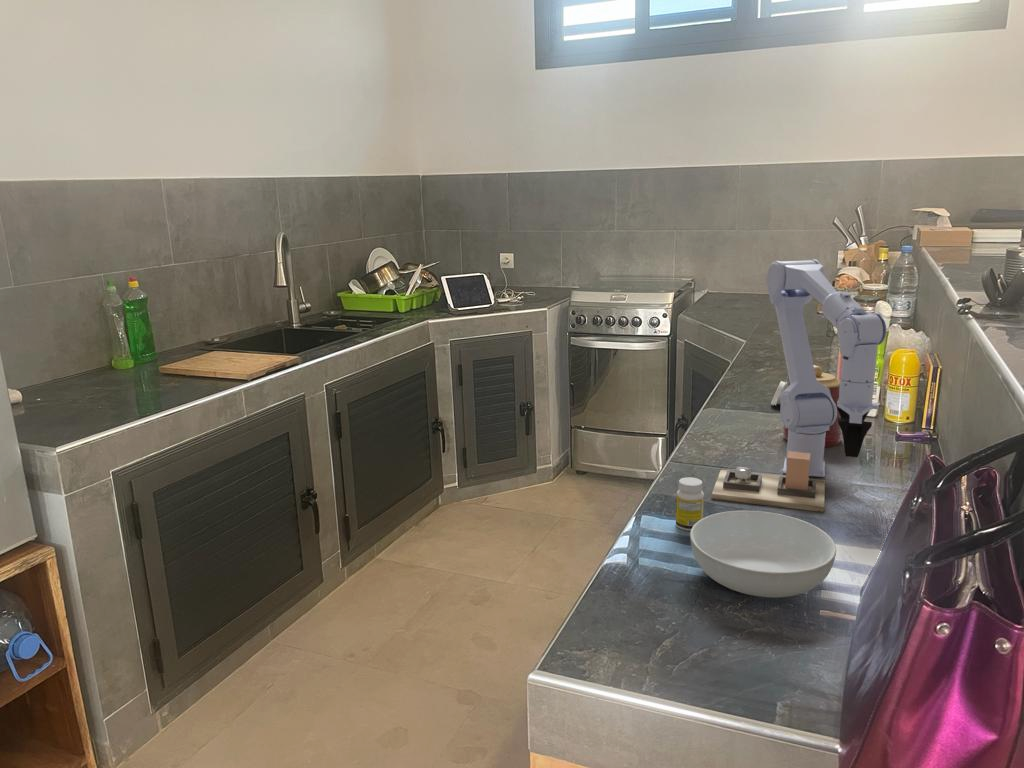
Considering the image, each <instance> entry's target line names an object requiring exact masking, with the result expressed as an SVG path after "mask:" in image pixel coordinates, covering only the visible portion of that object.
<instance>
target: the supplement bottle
mask: <svg viewBox="0 0 1024 768" xmlns="http://www.w3.org/2000/svg"><path fill="white" fill-rule="evenodd" d="M675 499H676V500H675V504H676V505H675V525H676V528H678V529H680V530H683V531H687V532H691V529H692V527H693V526H694V525H695V524H696V523H697V522H698V521H699V520H701V519H703V518H704V511H705V510H704V509H705V493H704V492H703V481H702V480H701V479H700V478H698V477H697V478H696V477H691V476H689V477H688V476H686V477H681V478H680V479H679V480H678V490H677V491H676V498H675Z"/></svg>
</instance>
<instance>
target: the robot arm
mask: <svg viewBox="0 0 1024 768" xmlns="http://www.w3.org/2000/svg"><path fill="white" fill-rule="evenodd" d="M824 266H825V265H823V264H821V262H820V261H819V260H818V259H813V258H812V259H810V260H808V259H806V260H783V261H780V260H774V261H772V262H771V264H770V266H769V267H768V269H767V274H766V278H765V281H766V286H767V292H768V296H769V301H770V304H771V305H773V306H774V308H775V313H776V317H777V319H776V320H777V322H778V329H779V332H780V338H781V343H782V349H783V352H784V353H783V354H784V357H785V358H784V359H785V363H786V364H785V365H786V368H787V373H788V375H789V380H790V386H789V387H788V388H787V389H786V390H785V389H784V390H783V392H782V394H781V396H780V398H779V401H780V407H779V408H780V410H779V414H780V420H781V422H782V424H783V425H785V427H786V428H788V441H787V445H786V457H785V458H784V463H783V469H782V473H783V474H786V468H787V456H788V451H792V452H802V453H811V454H810V467H809V477H817V478H825V476H826V475H825V473H826V472H825V470H826V461H825V460H824V457H825V447H824V446H825V434H826V431H829V426H831V425H833V424H834V422H835V420H836V417H837V409H838V411H839V414H840V416H841V418H838V423H839V426H840V428H841V431H842V434H841V435H842V439H843V440H842V441H843V451H844V455H845V457H847V458H848V457H849V458H858V457H859V455H860V453H861V450H862V447H863V443H864V440H865V437H866V436H867V433H868V432H869V430H870V429H871V428H872V426H873V422H872V421H865V420H866V418H867V416H868V414H869V413H870V411H872V410H878V409H879V408H880V404H879V402H873V396H874V387H875V377H876V368H877V367H876V366H877V359H878V358H877V357H878V346H879V345H881V344H883V342H884V341H885V339H886V336H887V330H888V329H887V323H886V320H885V319H884V317H883V316H882V315H881V314H880V313H879V312H873V313H872V312H870V311H866V310H865V309H864V307H863V306H862V305H860V304H859V303H858V302H857V301H856V300H855V299H854V298H853V297H852V294H851V293H849V291H837V290H836V288H834V286H833V285H832V284H831V283H830V281H829V280H828V279H827V277H826V276H825V267H824ZM813 298H814V299H815V300H816V301H818V302H819V303H820V305H822V306H821V312H822V314H823V316H824V317H825V318H826V320H828V321H829V322H830V323H831V324H832V325H833V326H834V327H835V328H836V333H837V338H838V342H839V354H840V355H841V357H842V358H841V369H840V378H839V380H840V390H839V400H838V401H837V406H838V407H836V404H835V402H834V401H833V399H832V397H831V394H830V390H829V388H827V387H826V386H824V385H823V384H821V383H820V382H818V381H817V380H816V375H815V370H814V365H815V364H814V360H813V357H812V352H811V346H810V343H809V342H810V341H809V336H808V332H807V327H806V323H805V322H806V321H805V317H804V311H803V308H804V306H805V305H806V304H808V303H810V302H811V301H812V300H813ZM788 375H787V376H788ZM796 398H797V399H796Z"/></svg>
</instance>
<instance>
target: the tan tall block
mask: <svg viewBox="0 0 1024 768" xmlns="http://www.w3.org/2000/svg"><path fill="white" fill-rule="evenodd" d="M810 454H811V453H802V452H792V451H788V456H787V455H786V457H787V468H786V473H785V476H786V482H785V488H790V489H799V490H808V481H809V479H810V476H809V467H810Z"/></svg>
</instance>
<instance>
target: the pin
mask: <svg viewBox="0 0 1024 768" xmlns="http://www.w3.org/2000/svg"><path fill="white" fill-rule="evenodd" d="M734 471H735V482H736V483H745V484H751V473H752V469H751V468H750V467H745V466H738V467H736V468H735V470H734Z"/></svg>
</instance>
